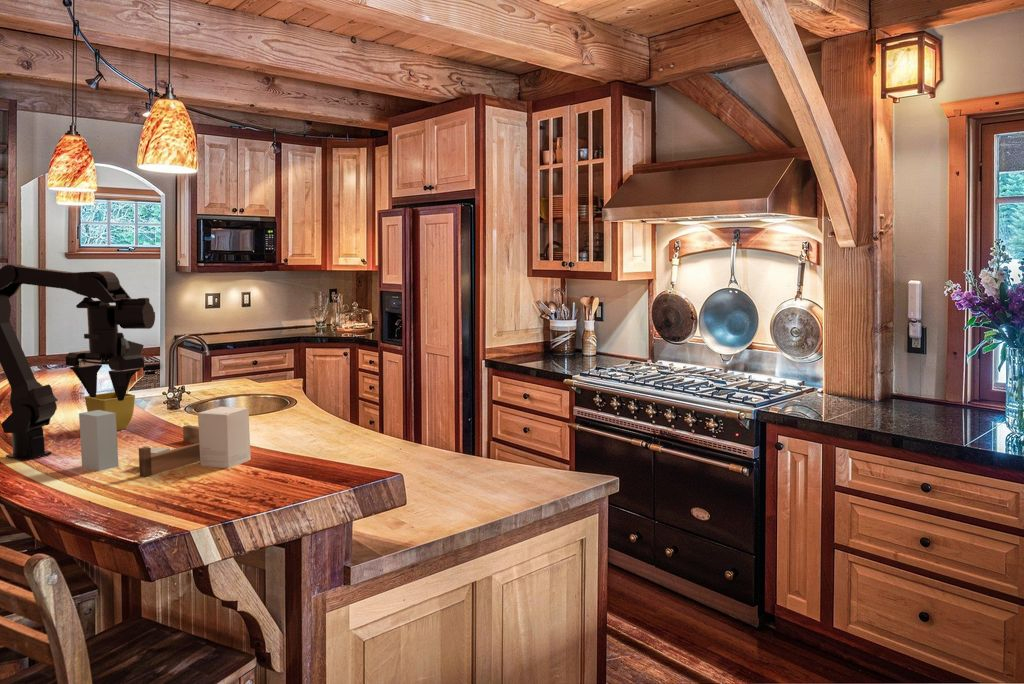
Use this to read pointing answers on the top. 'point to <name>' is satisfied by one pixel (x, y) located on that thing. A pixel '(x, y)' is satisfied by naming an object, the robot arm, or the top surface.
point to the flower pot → (113, 407)
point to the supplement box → (224, 437)
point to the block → (98, 440)
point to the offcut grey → (158, 450)
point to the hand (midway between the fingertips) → (106, 398)
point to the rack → (171, 455)
